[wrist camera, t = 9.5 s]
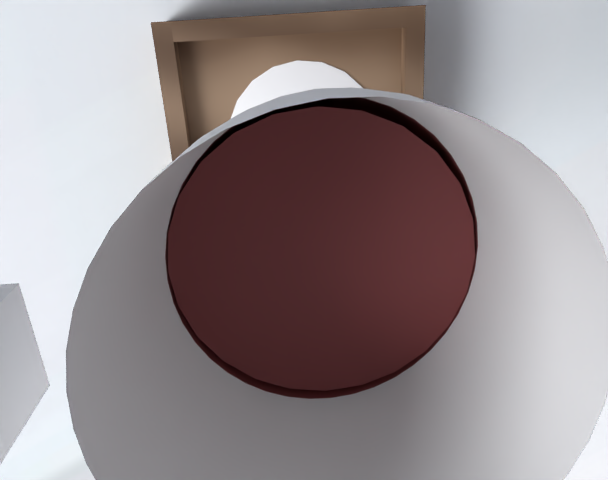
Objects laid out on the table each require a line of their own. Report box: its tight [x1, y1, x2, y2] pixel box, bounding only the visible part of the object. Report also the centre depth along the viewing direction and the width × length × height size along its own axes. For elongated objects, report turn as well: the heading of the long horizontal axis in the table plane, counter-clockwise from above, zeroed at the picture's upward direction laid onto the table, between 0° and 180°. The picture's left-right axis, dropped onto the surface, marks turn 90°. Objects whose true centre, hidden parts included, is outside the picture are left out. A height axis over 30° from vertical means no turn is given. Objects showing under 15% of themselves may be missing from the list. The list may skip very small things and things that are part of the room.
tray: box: [151, 5, 426, 161], centre depth 31 cm, size 14×14×4 cm
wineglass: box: [66, 60, 608, 480], centre depth 20 cm, size 9×10×23 cm
